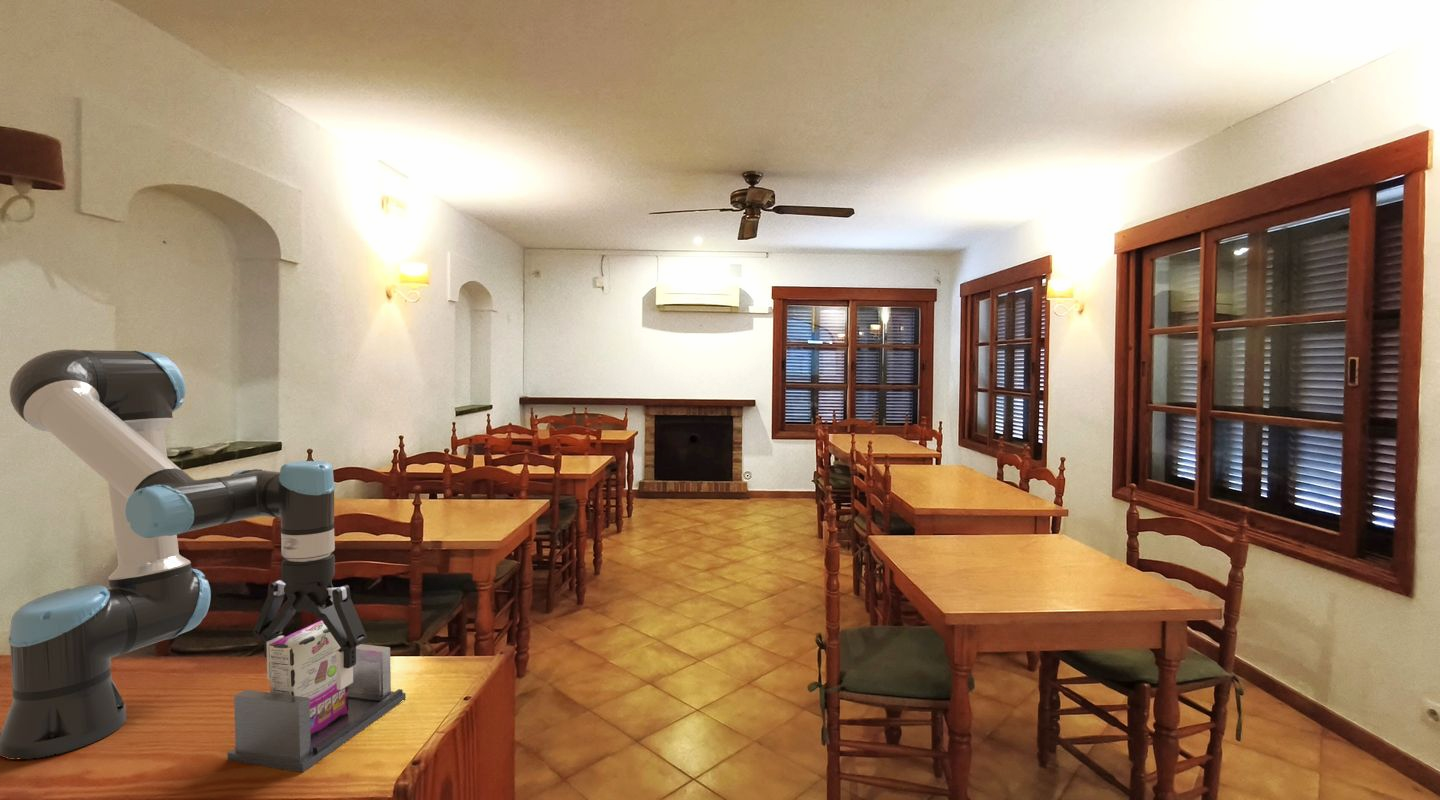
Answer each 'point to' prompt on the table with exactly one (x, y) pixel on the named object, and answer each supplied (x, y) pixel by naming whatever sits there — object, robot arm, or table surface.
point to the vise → (296, 728)
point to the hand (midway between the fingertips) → (310, 681)
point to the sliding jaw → (371, 673)
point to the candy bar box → (309, 673)
